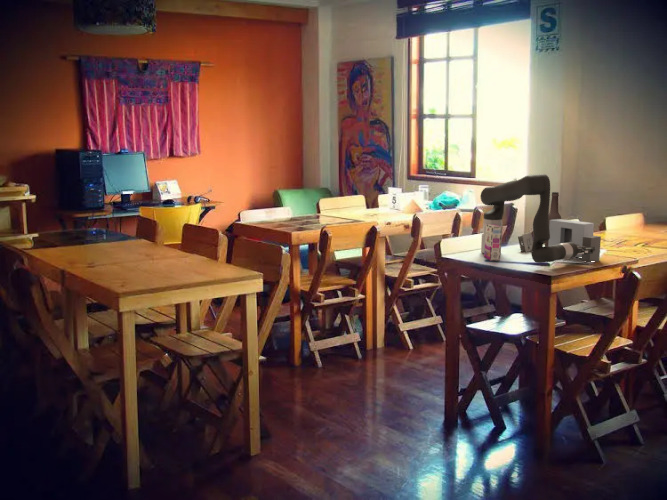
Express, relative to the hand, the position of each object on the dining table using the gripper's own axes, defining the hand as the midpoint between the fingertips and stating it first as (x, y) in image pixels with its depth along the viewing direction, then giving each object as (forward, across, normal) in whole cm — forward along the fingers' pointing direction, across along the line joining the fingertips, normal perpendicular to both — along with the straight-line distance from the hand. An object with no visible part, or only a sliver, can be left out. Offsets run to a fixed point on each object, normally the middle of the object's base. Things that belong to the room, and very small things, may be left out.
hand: (586, 247), depth 367 cm
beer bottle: (+19, +32, +7) cm, 38 cm away
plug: (+4, 0, +7) cm, 8 cm away
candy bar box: (-29, +32, +7) cm, 44 cm away
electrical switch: (+5, +38, +7) cm, 39 cm away
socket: (+11, +16, +7) cm, 21 cm away
